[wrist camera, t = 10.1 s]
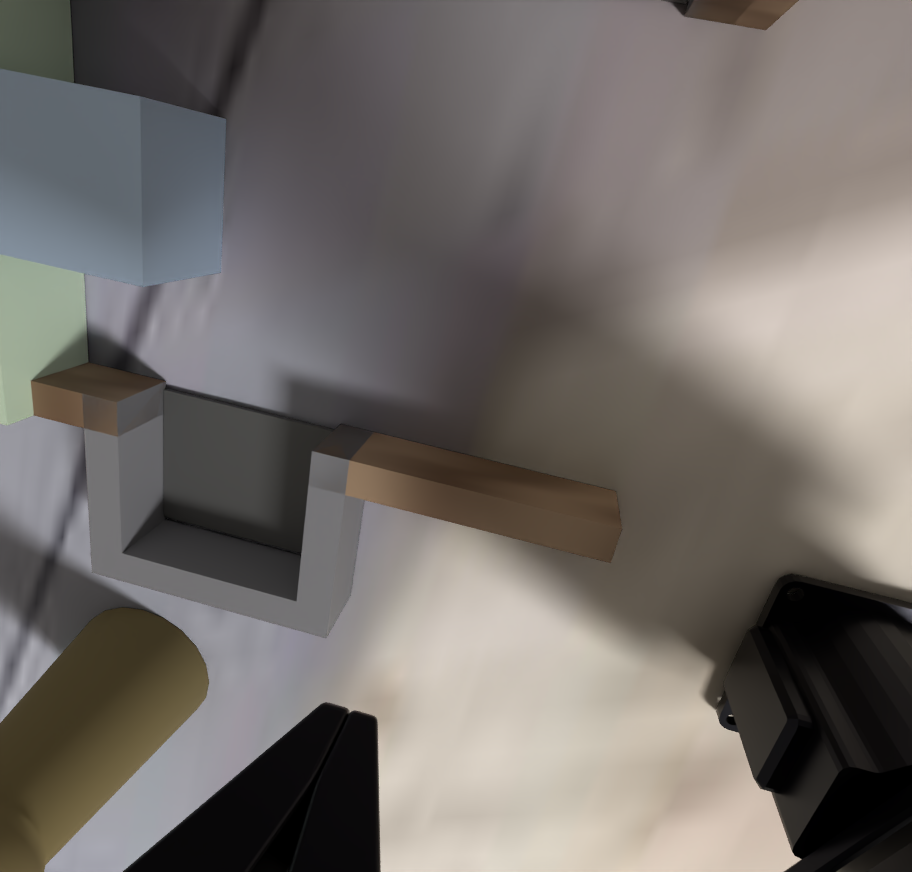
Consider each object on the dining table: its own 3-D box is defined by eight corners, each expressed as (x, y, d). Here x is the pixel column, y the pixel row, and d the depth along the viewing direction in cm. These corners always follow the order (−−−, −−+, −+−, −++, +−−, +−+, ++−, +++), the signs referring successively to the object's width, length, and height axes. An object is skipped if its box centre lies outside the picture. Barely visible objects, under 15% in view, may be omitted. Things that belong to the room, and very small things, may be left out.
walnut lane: (784, -29, 14) (826, -74, 12) (605, 522, 20) (610, 562, 18) (62, -144, 16) (-22, -203, 14) (90, 393, 22) (33, 415, 20)
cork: (62, 608, 26) (-259, 863, 16) (185, 605, 25) (-82, 881, 15) (110, 717, 28) (-150, 1006, 18) (225, 719, 27) (15, 1032, 17)
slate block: (228, 119, 18) (140, 96, 14) (223, 272, 20) (142, 287, 16) (90, 92, 18) (-31, 62, 15) (96, 244, 20) (-10, 252, 16)
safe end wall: (62, -144, 16) (-65, -232, 13) (90, 393, 22) (7, 425, 19) (22, -150, 16) (-114, -239, 13) (60, 386, 22) (-28, 416, 19)
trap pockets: (854, -371, 12) (921, -506, 10) (542, 647, 22) (538, 698, 20) (117, -449, 14) (26, -581, 11) (137, 537, 24) (91, 572, 22)
